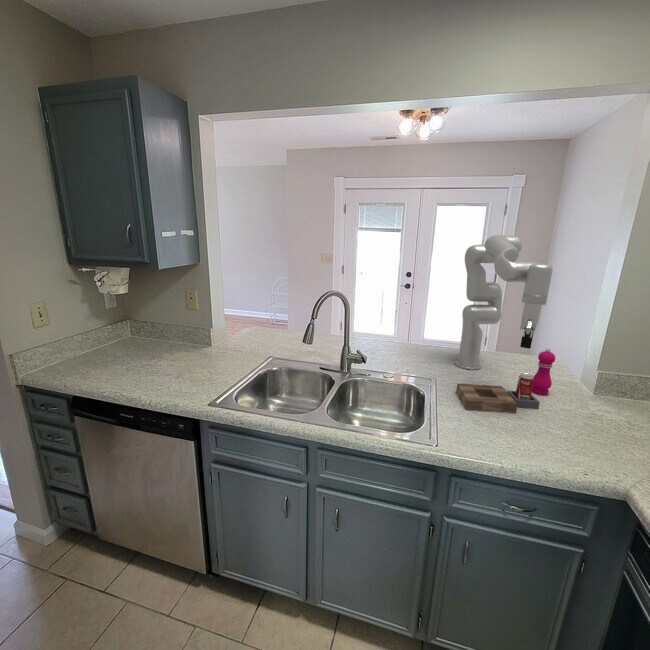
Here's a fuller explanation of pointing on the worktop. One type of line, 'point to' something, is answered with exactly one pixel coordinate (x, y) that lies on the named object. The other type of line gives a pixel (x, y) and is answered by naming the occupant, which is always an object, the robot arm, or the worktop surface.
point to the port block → (486, 398)
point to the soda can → (524, 386)
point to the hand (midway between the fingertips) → (526, 344)
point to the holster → (525, 401)
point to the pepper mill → (543, 373)
